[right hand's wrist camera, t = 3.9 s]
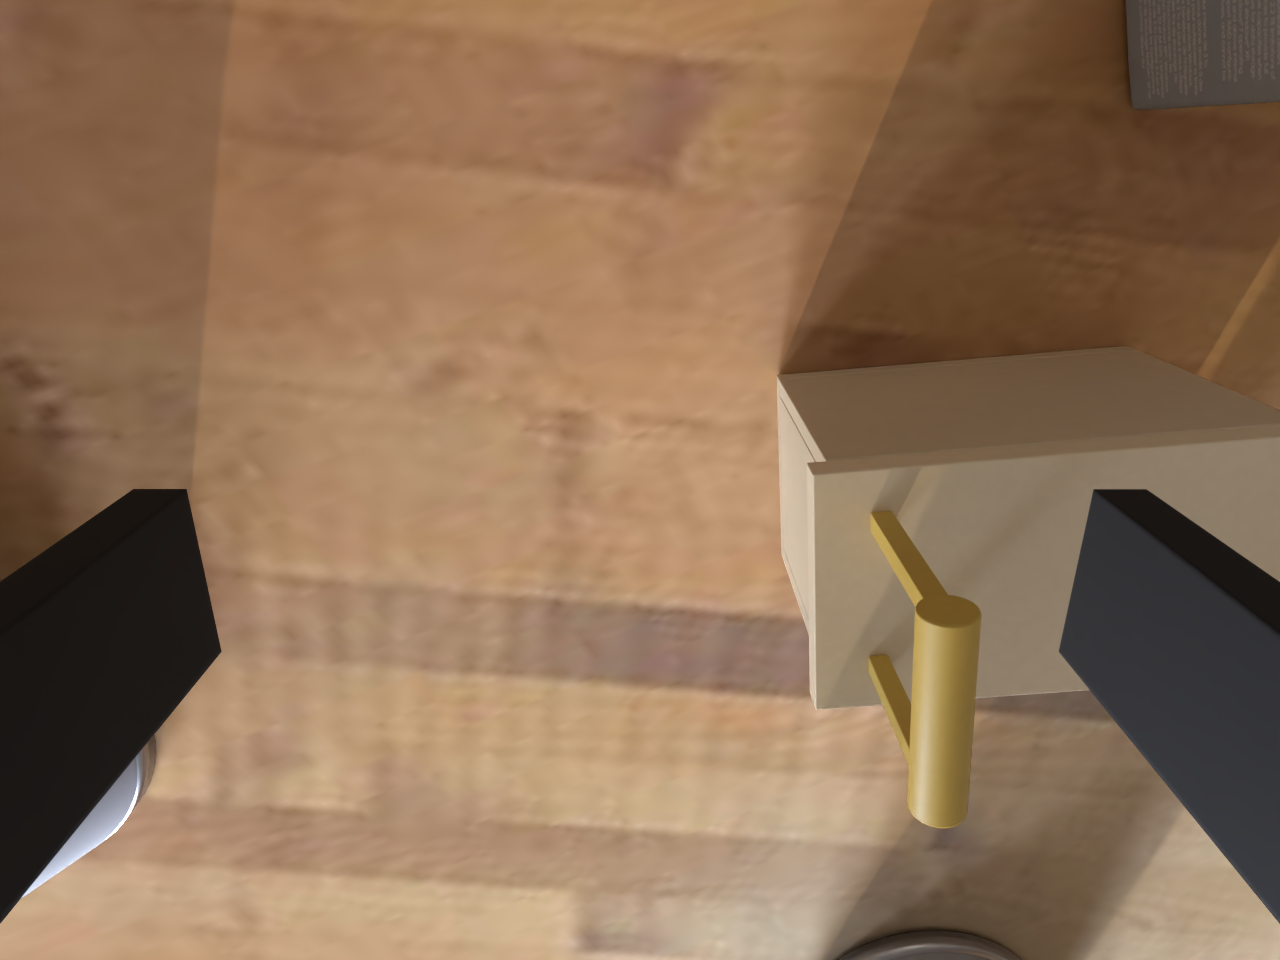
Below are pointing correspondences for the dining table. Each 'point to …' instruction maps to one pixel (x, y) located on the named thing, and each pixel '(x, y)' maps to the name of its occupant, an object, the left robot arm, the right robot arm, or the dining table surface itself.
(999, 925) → the dining table surface
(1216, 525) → the lid
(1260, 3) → the hard drive box
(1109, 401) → the chest
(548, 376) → the dining table surface
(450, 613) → the dining table surface
